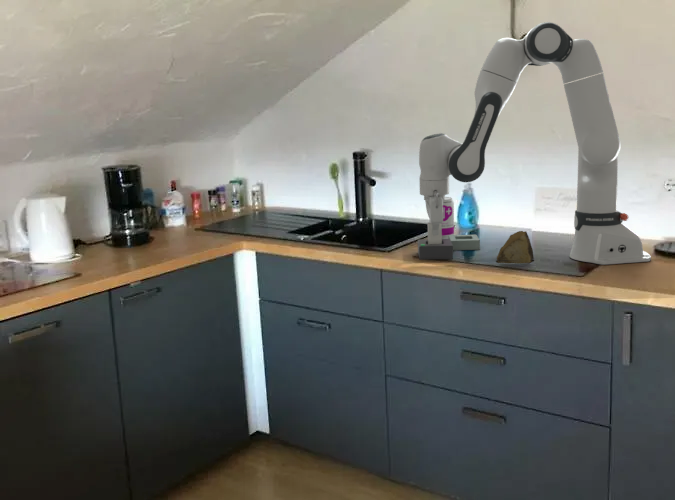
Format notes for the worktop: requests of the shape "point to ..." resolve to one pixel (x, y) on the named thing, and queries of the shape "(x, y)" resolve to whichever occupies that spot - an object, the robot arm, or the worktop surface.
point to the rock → (516, 249)
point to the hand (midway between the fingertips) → (434, 233)
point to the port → (435, 250)
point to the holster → (465, 242)
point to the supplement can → (447, 218)
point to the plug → (434, 238)
